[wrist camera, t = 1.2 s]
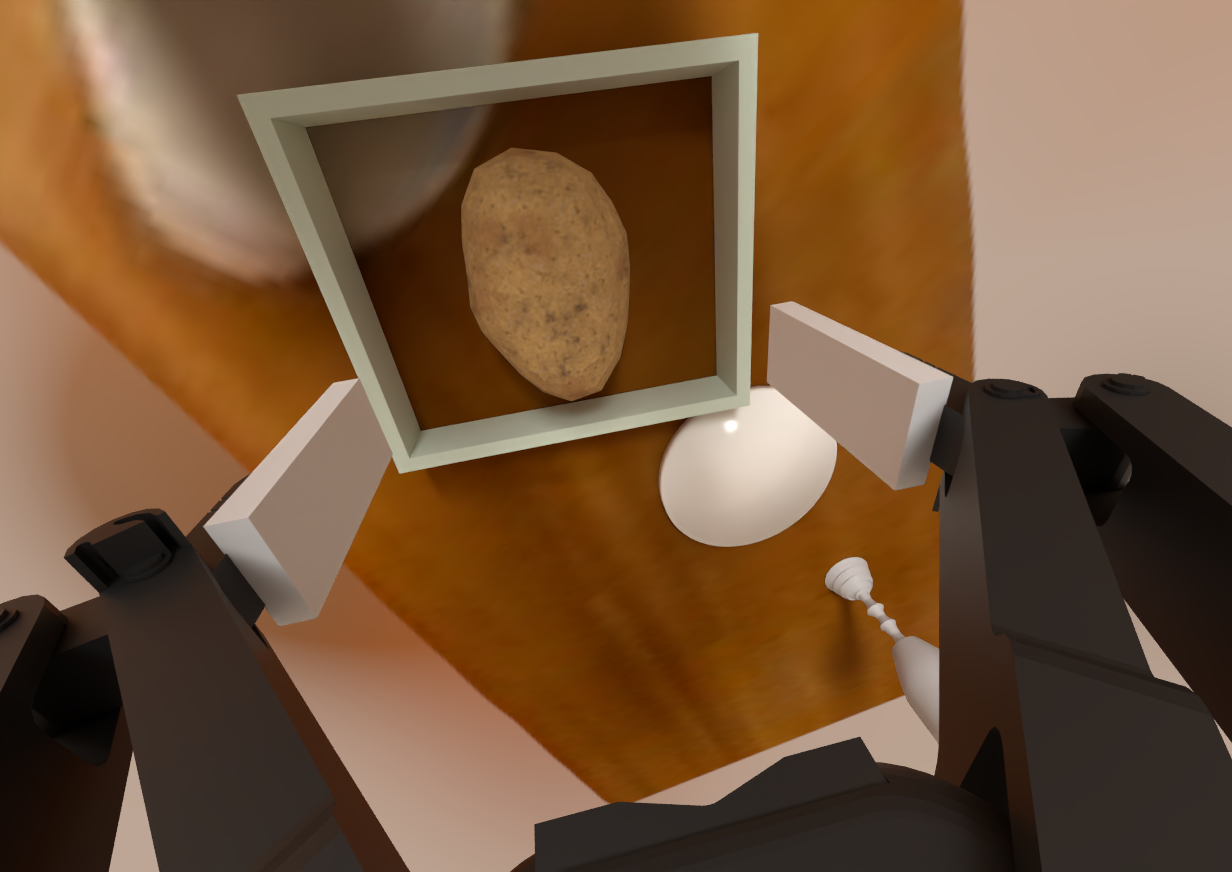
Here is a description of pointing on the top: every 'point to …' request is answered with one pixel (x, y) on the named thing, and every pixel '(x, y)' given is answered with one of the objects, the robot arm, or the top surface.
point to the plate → (745, 470)
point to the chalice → (909, 653)
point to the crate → (293, 109)
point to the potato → (547, 269)
